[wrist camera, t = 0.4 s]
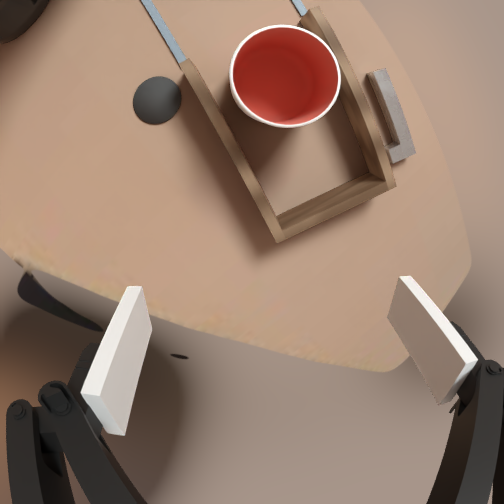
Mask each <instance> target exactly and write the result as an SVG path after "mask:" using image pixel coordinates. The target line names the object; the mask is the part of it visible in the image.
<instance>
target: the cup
mask: <svg viewBox="0 0 504 504" xmlns="http://www.w3.org/2000/svg"><path fill="white" fill-rule="evenodd" d="M229 79H230V88H231V93H232V96H233V98H234V100H235V102H236V104H237V105H238V107H239V108H240V109H241V110H242V111H243V112H244V113H245V114H246V115H248V116H249V117H251V118H253V119H255V120H257V121H259V122H262V123H265V124H268V125H271V126H275V127H281V128H295V127H301V126H305V125H308V124H310V123H313V122H315V121H316V120H318V119H320V118H321V117H322V116H324V115H325V114H326V113H327V112H328V111H329V110H330V108H331V107H332V106H333V104H334V102H335V101H336V99H337V96H338V93H339V90H340V83H341V75H340V69H339V65H338V62H337V59H336V57H335V55H334V54H333V52H332V50H331V49H330V48H329V46H328V45H327V44H326V43H325V42H324V41H323V40H322V39H320V38H319V37H318V36H316V35H315V34H313V33H311V32H310V31H308V30H305V29H303V28H300V27H296V26H290V25H274V26H269V27H265V28H262V29H259V30H257V31H255V32H253V33H252V34H250V35H249V36H248V37H246V38H245V39H244V40H243V41H242V42H241V43H240V45H239V46H238V47H237V49H236V50H235V52H234V54H233V56H232V59H231V63H230V68H229Z"/></svg>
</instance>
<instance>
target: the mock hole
mask: <svg viewBox="0 0 504 504" xmlns="http://www.w3.org/2000/svg"><path fill="white" fill-rule="evenodd" d="M180 103H181V93H180V90H179V88H178V86H177V85H176V84H175V82H173V81H172V80H170V79H168V78H166V77H153V78H150V79H148V80H146V81H144V82H143V83H142V84H141V85H140V86H139V87H138V89H137V90H136V92H135V95H134V99H133V106H134V110H135V112H136V114H137V115H138V116H139V118H141V119H142V120H143V121H145V122H148V123H152V124H157V123H162V122H165V121H167V120H169V119H170V118H171V117H173V116H174V115H175V113H176V112H177V110H178V109H179V106H180Z"/></svg>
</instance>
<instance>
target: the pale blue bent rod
mask: <svg viewBox="0 0 504 504" xmlns="http://www.w3.org/2000/svg"><path fill="white" fill-rule="evenodd" d="M141 1H142V2H143V4H144V6H145V7H146V9H147V10H148V12H149V14H150V15H151V17H152V19H153V20H154V22H155V24H156V25H157V27H158V29H159V30H160V32H161V34H162V35H163V37H164V39H165V41H166V42H167V44H168V46H169V47H170V49H171V51H172V52H173V54H174V56H175V58H176V59H177V61H178V63H181V62H183V61H185V60H186V58H185V56H184V54H183V53H182V51H181V49H180V47H179V46H178V44H177V42H176V41H175V39H174V37H173V36H172V34H171V32H170V31H169V29H168V27H167V26H166V24H165V22H164V21H163V19H162V17H161V16H160V14H159V13H158V11H157V9H156V8H155V6H154V4H153V3H152V1H151V0H141ZM292 2H293V3H294V5H295V7H296V8H297V10H298V12H299V13H300V15H301V16H304V15H305V14H306V12H307V10H306V8H305V6H304V5H303V3H302V2H301V0H292Z"/></svg>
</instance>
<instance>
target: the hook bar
mask: <svg viewBox="0 0 504 504" xmlns="http://www.w3.org/2000/svg"><path fill="white" fill-rule="evenodd" d="M367 76H368V78H369V81H370V83H371V85H372V88H373V90H374V92H375V95H376V97H377V100H378V102H379V105H380V107H381V110H382V112H383V115H384V118H385V120H386V123H387V126H388V129H389V131H390V134H391V137H392V140H393V143H391V144H388V145H386V146H384V148H385V151H386V154H387V157H388V160H389V162H390V163H393V164H394V163H396V162H398V161H400V160H402V159H404V158H407V157H409V156H411V155H413V154H415V153H416V151H415V148H414V145H413V141H412V138H411V135H410V132H409V129H408V126H407V123H406V120H405V117H404V114H403V111H402V108H401V105H400V103H399V100H398V97H397V95H396V92H395V90H394V87H393V85H392V82H391V80H390V77H389V75H388V73H387V70H386V68H384V69H379V70H376V71H373V72H370V73H367Z"/></svg>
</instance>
